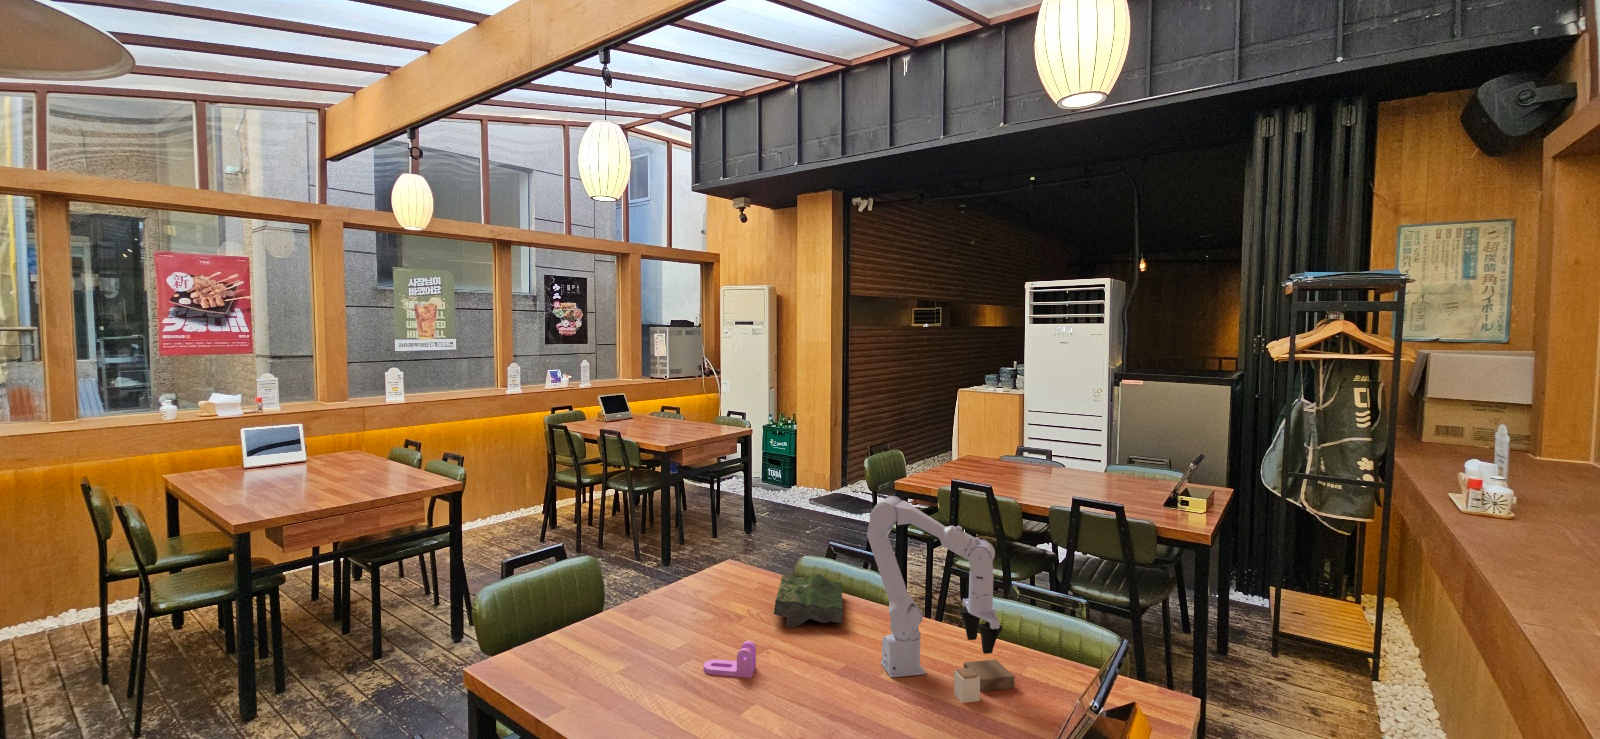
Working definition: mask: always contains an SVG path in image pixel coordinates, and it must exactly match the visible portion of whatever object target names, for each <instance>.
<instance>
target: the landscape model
mask: <svg viewBox="0 0 1600 739" xmlns="http://www.w3.org/2000/svg"><path fill="white" fill-rule="evenodd" d="M781 575H782V576H781V579H780V583H779V587H778V591H777V594H776V598H775V602H774V608H773V610H774V611H773V615H774V616H778V617H783V618H784V617H786V624H785V628H795V627H799V626H801V625H803V624H804V623H805V622H806V621H808V620H813V621H816V622H818V623H823V624H827V623H833V622H834V623H837V624H841V625H842V624H843V618H844V617H843V611H844V606H843V604H844V603H843V582H833V581H830V580H829V578H826V577H824V576H823V575H821V574H820V573H815V574H814V575H812V576H810V577H809V578H807V577H803V576H802V577H801V576H800V577H797V576H794V575H790V576H789V575H786V574H785V573H784V574H781Z"/></svg>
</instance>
